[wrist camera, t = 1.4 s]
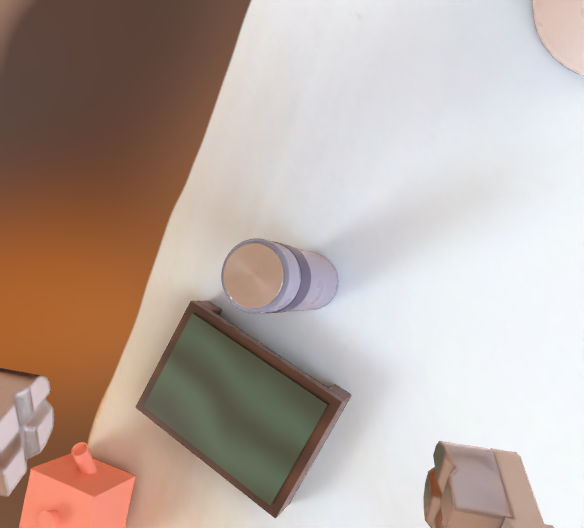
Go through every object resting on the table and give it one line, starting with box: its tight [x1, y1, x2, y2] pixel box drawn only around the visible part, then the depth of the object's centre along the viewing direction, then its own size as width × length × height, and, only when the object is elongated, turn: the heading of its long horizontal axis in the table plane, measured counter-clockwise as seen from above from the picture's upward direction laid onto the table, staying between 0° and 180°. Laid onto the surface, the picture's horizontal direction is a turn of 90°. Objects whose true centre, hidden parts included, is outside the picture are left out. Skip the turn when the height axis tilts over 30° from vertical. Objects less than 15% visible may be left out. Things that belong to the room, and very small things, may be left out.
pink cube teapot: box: [19, 442, 136, 528], centre depth 52 cm, size 8×12×8 cm, turn 168°
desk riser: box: [136, 301, 351, 518], centre depth 49 cm, size 12×17×4 cm
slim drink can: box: [221, 239, 338, 313], centre depth 43 cm, size 5×5×14 cm
